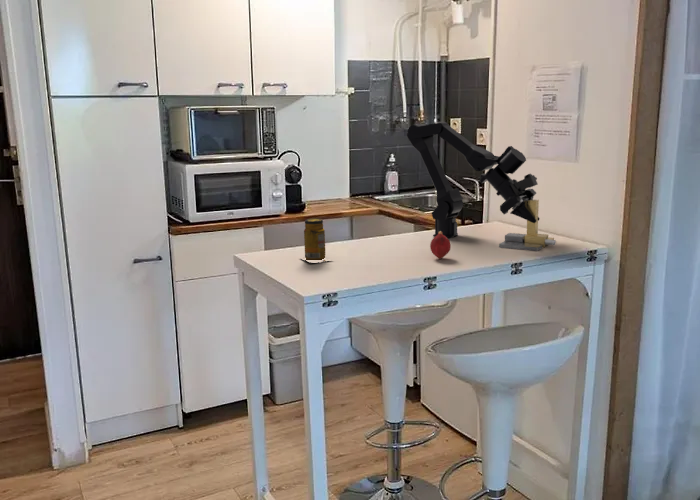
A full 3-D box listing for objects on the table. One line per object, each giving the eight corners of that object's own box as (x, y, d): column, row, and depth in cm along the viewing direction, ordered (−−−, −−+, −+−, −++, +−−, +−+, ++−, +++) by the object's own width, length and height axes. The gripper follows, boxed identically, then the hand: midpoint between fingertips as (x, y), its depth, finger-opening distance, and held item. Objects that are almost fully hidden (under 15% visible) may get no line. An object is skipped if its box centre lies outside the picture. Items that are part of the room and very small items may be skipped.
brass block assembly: (505, 244, 207) (506, 199, 204) (516, 237, 215) (517, 195, 212) (544, 247, 200) (545, 202, 197) (553, 241, 209) (555, 197, 206)
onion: (451, 260, 188) (451, 233, 186) (431, 261, 188) (431, 233, 187) (449, 256, 194) (449, 229, 192) (429, 256, 194) (429, 229, 192)
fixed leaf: (499, 247, 203) (499, 238, 202) (509, 241, 210) (509, 232, 210) (548, 251, 195) (548, 242, 194) (556, 245, 203) (557, 236, 202)
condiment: (321, 256, 199) (320, 216, 197) (333, 261, 192) (331, 221, 189) (299, 259, 196) (297, 219, 194) (310, 265, 189) (308, 223, 186)
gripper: (511, 169, 194) (547, 208, 190) (530, 163, 209) (564, 199, 205) (485, 194, 199) (519, 233, 196) (506, 186, 215) (538, 222, 211)
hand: (537, 221), depth 202 cm, fingers closed on brass block assembly, 3 cm apart
